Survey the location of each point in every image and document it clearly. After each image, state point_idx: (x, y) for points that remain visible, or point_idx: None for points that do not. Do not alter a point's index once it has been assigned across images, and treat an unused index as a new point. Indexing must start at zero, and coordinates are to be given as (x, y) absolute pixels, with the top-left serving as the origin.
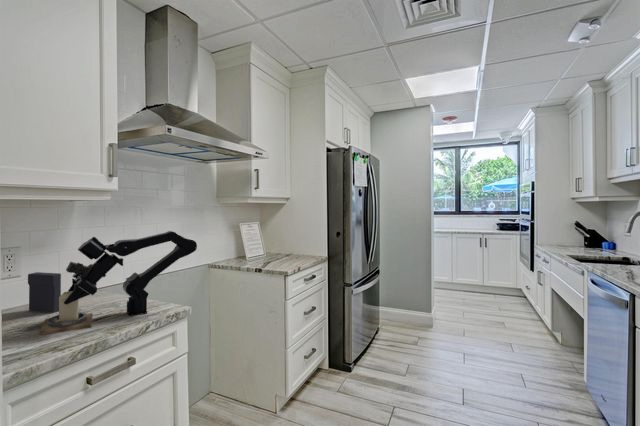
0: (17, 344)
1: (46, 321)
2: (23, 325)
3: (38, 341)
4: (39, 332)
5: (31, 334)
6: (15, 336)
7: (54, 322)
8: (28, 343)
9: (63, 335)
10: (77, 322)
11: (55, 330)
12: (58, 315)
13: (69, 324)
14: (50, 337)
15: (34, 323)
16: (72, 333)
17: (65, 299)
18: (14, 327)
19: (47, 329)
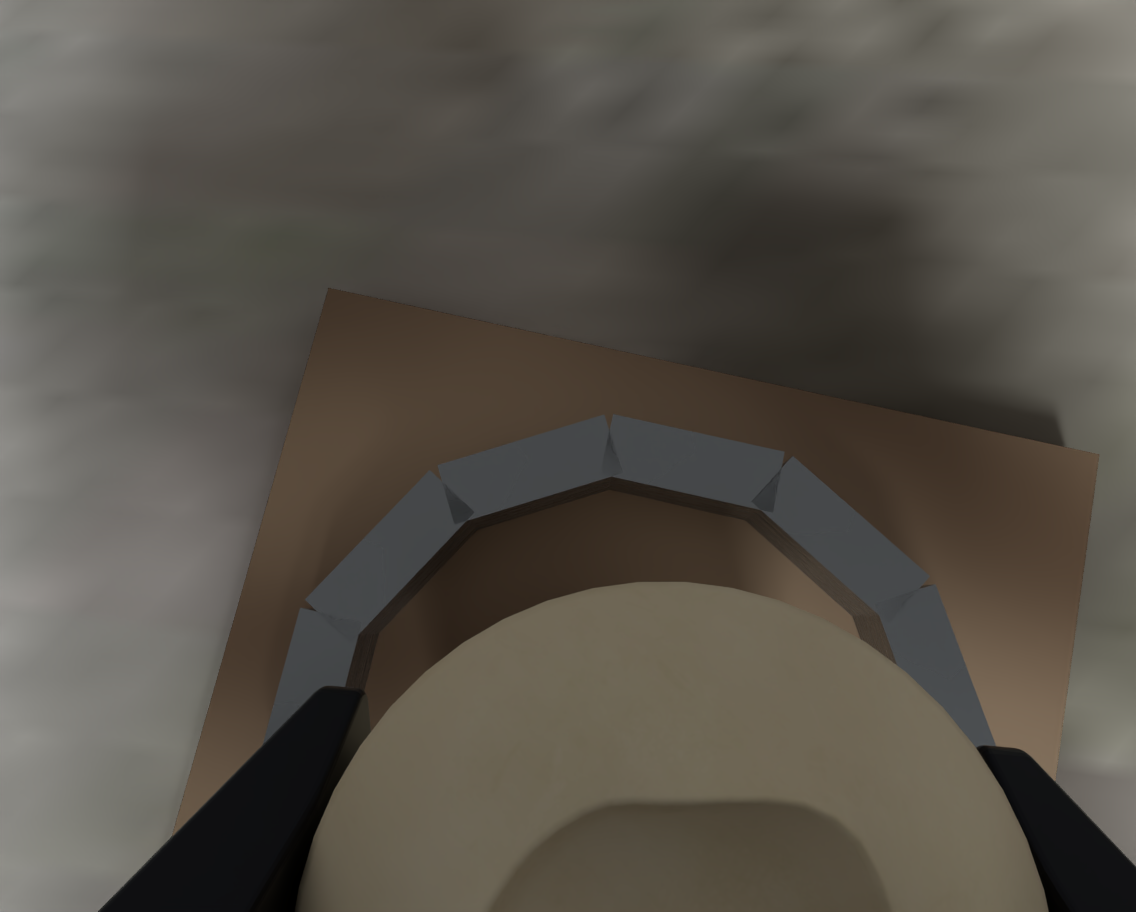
0: (106, 45)
1: (891, 442)
2: (1051, 161)
3: (18, 266)
4: (335, 294)
5: (446, 218)
6: (509, 42)
7: (419, 500)
8: (35, 155)
9: (22, 593)
10: None
11: (271, 509)
12: (919, 636)
13: None
14: (76, 421)
15: (1066, 304)
16: (15, 728)
17: (353, 765)
18: (1017, 53)
19: (357, 400)
